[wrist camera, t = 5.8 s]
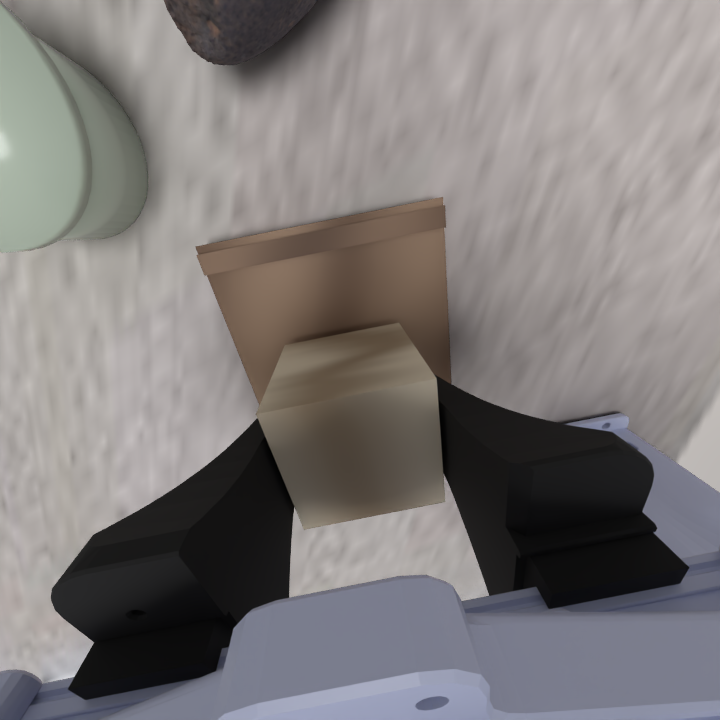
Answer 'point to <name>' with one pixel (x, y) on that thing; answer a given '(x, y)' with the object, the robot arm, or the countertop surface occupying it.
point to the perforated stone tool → (235, 25)
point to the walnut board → (334, 284)
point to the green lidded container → (61, 148)
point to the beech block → (354, 426)
